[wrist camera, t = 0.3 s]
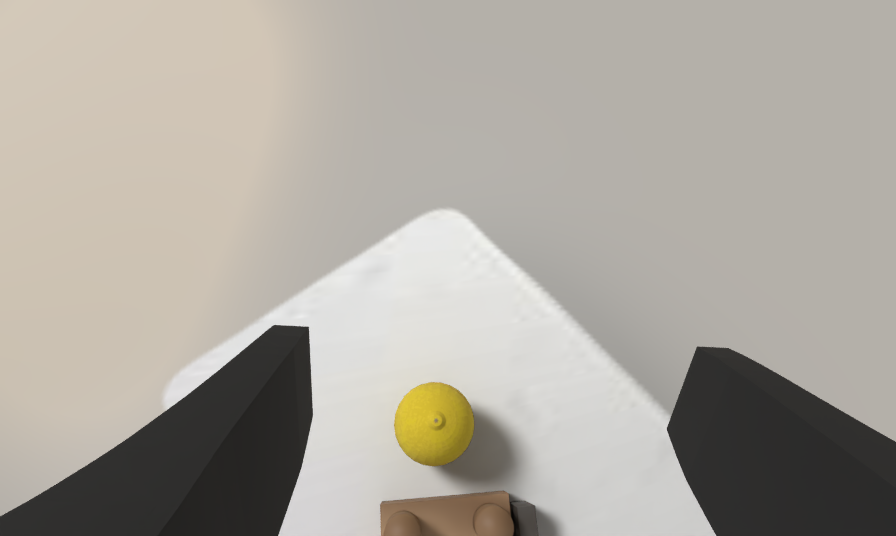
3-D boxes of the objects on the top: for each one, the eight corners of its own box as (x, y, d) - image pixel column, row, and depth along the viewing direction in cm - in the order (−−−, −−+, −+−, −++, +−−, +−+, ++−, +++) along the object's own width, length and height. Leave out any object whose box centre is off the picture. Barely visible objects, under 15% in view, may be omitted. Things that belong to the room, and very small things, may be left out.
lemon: (408, 380, 39) (406, 365, 31) (475, 399, 39) (490, 388, 31) (387, 452, 37) (379, 454, 29) (458, 473, 37) (468, 479, 29)
